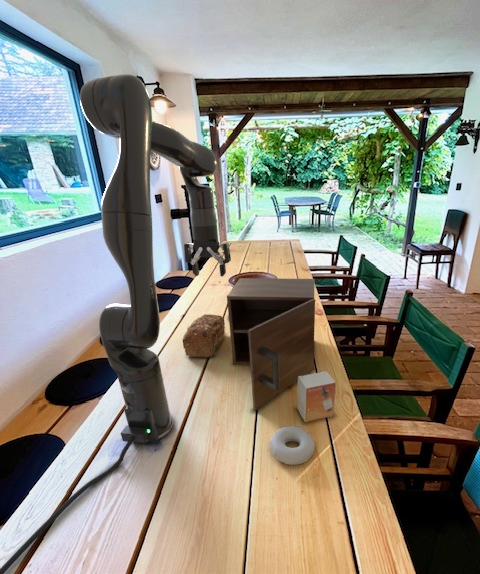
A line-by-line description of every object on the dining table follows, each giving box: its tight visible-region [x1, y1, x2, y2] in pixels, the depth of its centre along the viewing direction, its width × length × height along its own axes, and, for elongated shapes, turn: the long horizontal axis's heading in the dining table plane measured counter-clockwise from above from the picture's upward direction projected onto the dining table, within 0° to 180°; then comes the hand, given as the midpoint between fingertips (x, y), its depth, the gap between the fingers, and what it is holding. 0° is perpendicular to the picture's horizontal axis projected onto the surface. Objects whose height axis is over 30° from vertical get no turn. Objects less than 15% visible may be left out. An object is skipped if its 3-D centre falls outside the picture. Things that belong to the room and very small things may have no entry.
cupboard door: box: [248, 298, 316, 412], centre depth 87 cm, size 7×26×24 cm, turn 137°
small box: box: [296, 370, 337, 423], centre depth 81 cm, size 8×6×10 cm
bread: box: [182, 313, 226, 359], centre depth 117 cm, size 19×11×10 cm, turn 172°
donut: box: [269, 425, 316, 466], centre depth 72 cm, size 10×3×10 cm
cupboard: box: [226, 277, 316, 366], centre depth 108 cm, size 18×26×24 cm
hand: (209, 275), depth 104 cm, fingers open, 8 cm apart
